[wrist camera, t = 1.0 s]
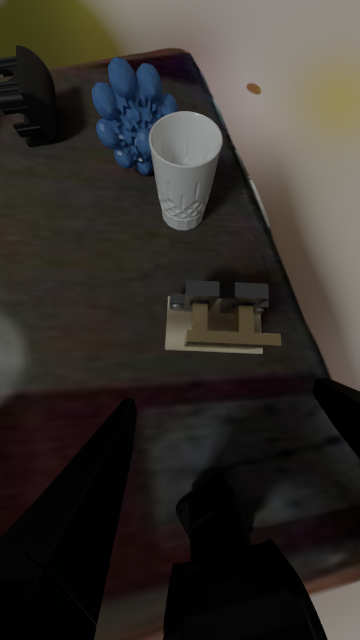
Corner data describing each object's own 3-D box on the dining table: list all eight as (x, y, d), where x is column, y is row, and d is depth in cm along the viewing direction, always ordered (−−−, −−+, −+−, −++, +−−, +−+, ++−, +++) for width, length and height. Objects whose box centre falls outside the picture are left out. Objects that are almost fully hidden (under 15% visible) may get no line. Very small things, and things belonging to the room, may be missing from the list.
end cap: (69, 144, 31) (40, 86, 25) (29, 150, 31) (-12, 93, 24) (64, 104, 33) (36, 42, 27) (26, 110, 33) (-12, 47, 26)
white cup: (216, 219, 28) (237, 145, 18) (176, 243, 27) (176, 179, 17) (188, 186, 29) (194, 101, 20) (149, 207, 28) (134, 129, 19)
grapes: (123, 203, 29) (85, 96, 17) (110, 172, 30) (67, 53, 18) (188, 183, 30) (195, 68, 18) (174, 154, 31) (172, 29, 19)
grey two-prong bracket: (257, 315, 24) (287, 300, 17) (170, 311, 24) (167, 295, 17) (257, 303, 24) (285, 283, 18) (171, 299, 24) (168, 278, 18)
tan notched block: (245, 349, 23) (281, 345, 15) (183, 346, 22) (186, 341, 15) (244, 315, 23) (277, 295, 16) (184, 313, 23) (188, 291, 16)
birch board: (259, 353, 24) (262, 353, 23) (165, 349, 24) (165, 349, 23) (256, 302, 25) (259, 300, 24) (168, 298, 25) (168, 296, 24)
